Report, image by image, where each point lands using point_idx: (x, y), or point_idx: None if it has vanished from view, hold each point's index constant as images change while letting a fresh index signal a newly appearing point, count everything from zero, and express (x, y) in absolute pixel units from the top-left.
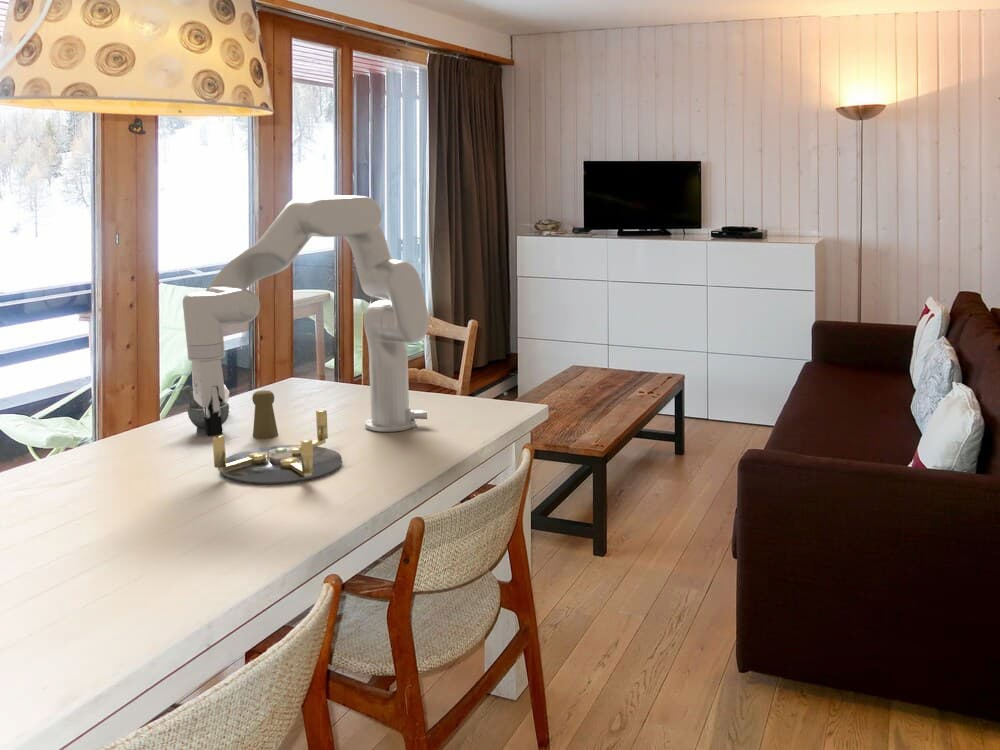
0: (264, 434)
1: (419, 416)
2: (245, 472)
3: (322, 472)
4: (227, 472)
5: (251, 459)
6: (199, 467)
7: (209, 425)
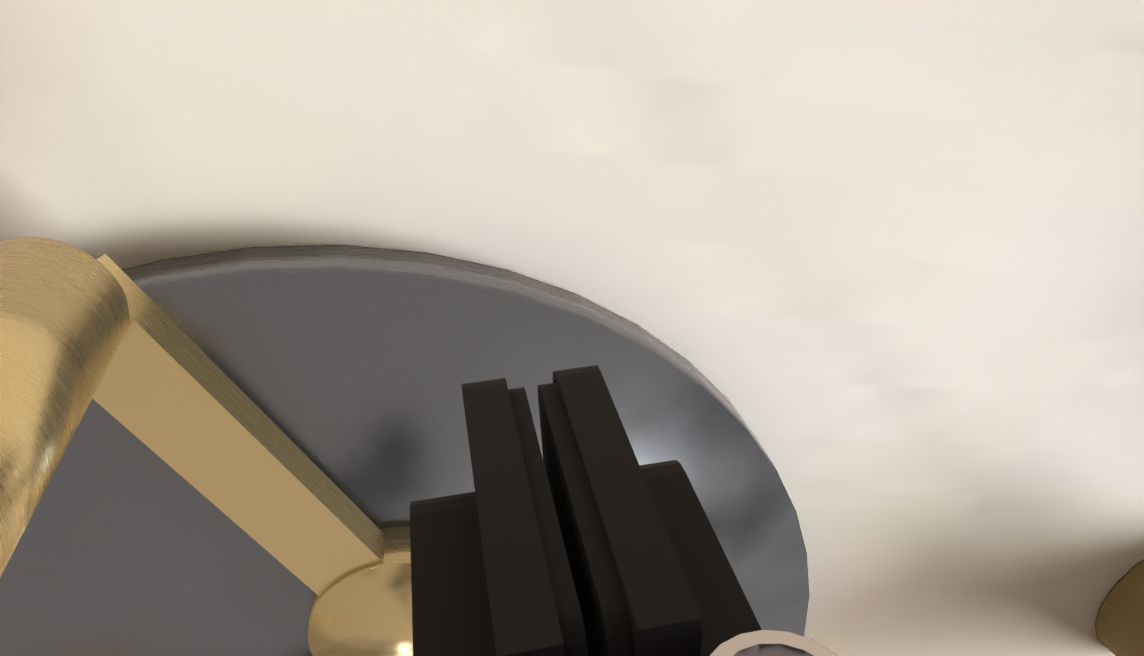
0: (1136, 611)
1: None
2: None
3: None
4: None
5: (304, 579)
6: (641, 65)
7: (484, 564)
